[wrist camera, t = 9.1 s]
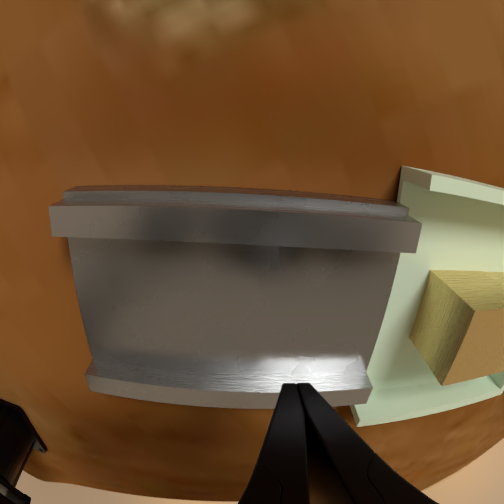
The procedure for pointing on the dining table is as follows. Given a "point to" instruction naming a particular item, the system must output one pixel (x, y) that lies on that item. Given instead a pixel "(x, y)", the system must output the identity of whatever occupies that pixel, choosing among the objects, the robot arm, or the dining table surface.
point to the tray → (412, 288)
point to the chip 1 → (460, 325)
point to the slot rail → (231, 289)
